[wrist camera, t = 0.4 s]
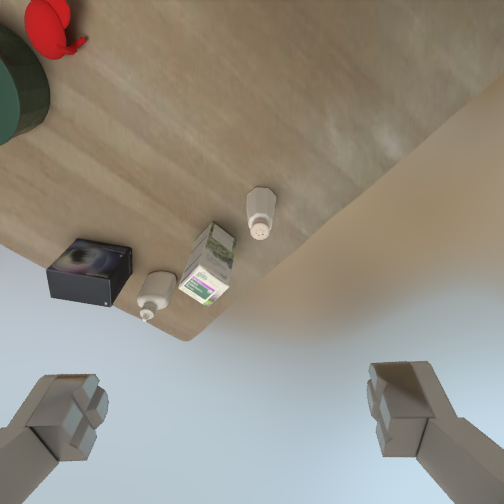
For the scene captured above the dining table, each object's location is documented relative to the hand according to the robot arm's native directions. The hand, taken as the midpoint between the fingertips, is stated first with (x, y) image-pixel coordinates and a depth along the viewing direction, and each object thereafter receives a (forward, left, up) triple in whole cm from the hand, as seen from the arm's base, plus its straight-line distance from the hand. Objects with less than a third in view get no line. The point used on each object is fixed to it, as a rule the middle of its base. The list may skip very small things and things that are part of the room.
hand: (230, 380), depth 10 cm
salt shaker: (+15, -1, -47) cm, 49 cm away
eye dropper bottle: (+30, -22, -47) cm, 60 cm away
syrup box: (+22, -10, -47) cm, 52 cm away
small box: (+24, -32, -47) cm, 61 cm away
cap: (-12, -25, -47) cm, 54 cm away
